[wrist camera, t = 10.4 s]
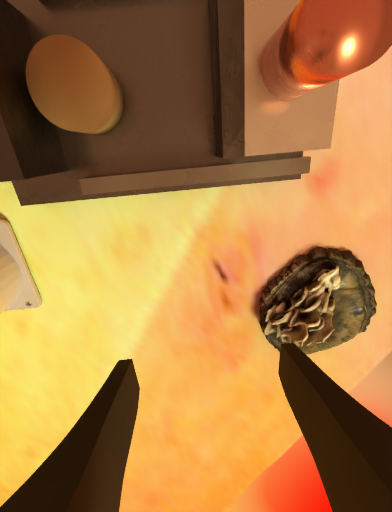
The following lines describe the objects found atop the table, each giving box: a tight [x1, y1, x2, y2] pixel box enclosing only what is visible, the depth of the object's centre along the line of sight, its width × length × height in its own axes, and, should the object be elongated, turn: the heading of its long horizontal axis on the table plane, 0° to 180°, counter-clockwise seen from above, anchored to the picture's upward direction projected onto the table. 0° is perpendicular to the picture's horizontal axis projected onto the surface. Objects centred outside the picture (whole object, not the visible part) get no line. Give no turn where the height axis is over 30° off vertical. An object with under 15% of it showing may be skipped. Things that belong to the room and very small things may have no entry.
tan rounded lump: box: [26, 35, 123, 134], centre depth 13 cm, size 4×4×3 cm
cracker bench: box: [0, 0, 311, 206], centre depth 13 cm, size 20×12×6 cm, turn 95°
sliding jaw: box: [209, 0, 392, 159], centre depth 11 cm, size 6×8×8 cm
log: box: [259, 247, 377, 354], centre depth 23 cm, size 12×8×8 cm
